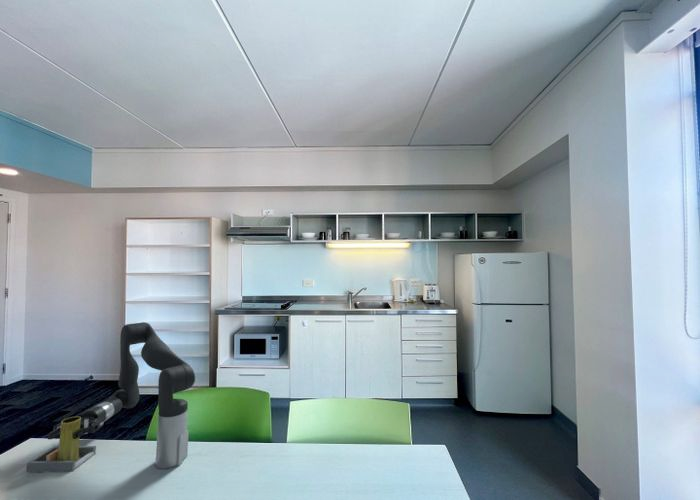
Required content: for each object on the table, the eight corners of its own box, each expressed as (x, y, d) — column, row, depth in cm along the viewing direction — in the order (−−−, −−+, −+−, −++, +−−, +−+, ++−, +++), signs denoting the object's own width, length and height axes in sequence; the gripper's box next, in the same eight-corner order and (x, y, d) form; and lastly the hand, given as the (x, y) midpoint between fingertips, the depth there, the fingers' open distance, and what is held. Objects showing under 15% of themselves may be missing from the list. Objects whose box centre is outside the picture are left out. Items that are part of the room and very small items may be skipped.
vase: (83, 456, 111) (86, 416, 112) (66, 467, 105) (69, 424, 106) (69, 455, 111) (72, 415, 113) (50, 465, 105) (54, 423, 107)
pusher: (67, 455, 111) (68, 444, 112) (49, 467, 104) (50, 455, 105) (63, 455, 111) (64, 444, 112) (45, 467, 104) (46, 455, 104)
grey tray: (95, 454, 113) (96, 445, 113) (72, 471, 103) (73, 462, 103) (53, 454, 112) (54, 446, 113) (26, 472, 102) (27, 463, 103)
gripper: (80, 405, 123) (41, 425, 107) (116, 405, 124) (83, 425, 107) (78, 425, 122) (39, 448, 106) (115, 424, 123) (81, 447, 107)
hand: (61, 436), depth 107 cm, fingers open, 8 cm apart
